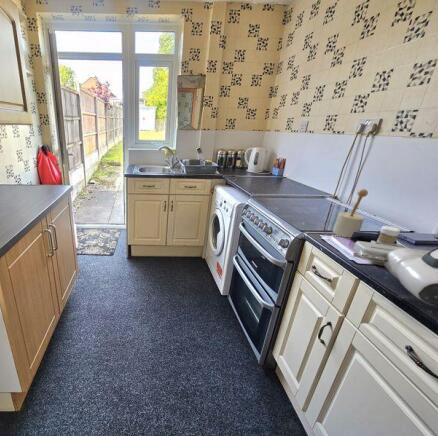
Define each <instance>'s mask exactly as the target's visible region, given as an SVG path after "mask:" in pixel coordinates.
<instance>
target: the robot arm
mask: <svg viewBox="0 0 438 436" xmlns="http://www.w3.org/2000/svg"><path fill="white" fill-rule="evenodd" d="M353 252H354V253H356V255H358V256H359V257H360V258H362V259H364V260H367V261H369V260H370V261H376V262H382V263H384V267H385V269H386V270H388V272H389V273H391V275H392V276H393V277H394V278H395V279H397V280H398V281H399V283H400V284H401V285H402V286H403V287H404V288H405V289H406V290H407V291H408V292H409V293H410V294H411V295H413V296H414V297H416V298H417V299H418V300H420V301H421V302H424V303H426V304H429V305H432V306H436V307H438V247H436V248H434V249H432V250H430V251H429V250H423V249H418V248H410V247H404V246H402V245H399V244H398V243H394V246H390V245H383V244H379V243H378V242H377V240H371V241H370V242H368V241H361V240H357V241H355V243H354V245H353ZM370 261H369V262H370Z"/></svg>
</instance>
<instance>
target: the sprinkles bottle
mask: <svg viewBox="0 0 438 436" xmlns="http://www.w3.org/2000/svg"><path fill="white" fill-rule="evenodd" d="M400 232H401V229H400V228H397V227H395V226H389V225H383V226H381V228H380V232H379V233H380V234H379V235H378V238H377V240H376V241H377V242H378V243H379V244H383V245H390V246H394V244H396V240H397V238H398V237H399V235H400ZM368 261H369V262H370V263H372V264H374V265H377V266H380V267H381V266H382V267H383V266H384V267H385V265H384V263H382V262H376V261H370V260H368Z"/></svg>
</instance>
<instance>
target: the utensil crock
mask: <svg viewBox="0 0 438 436" xmlns="http://www.w3.org/2000/svg"><path fill="white" fill-rule="evenodd" d="M368 191H369V190H367V189H365V188H361V189H359V190H357V196H358V197H357V199H356V201H355V204H354V205H353V208H352V210H351V212H349V211H347V212H346V211H339V212H338V214H337V216H336V219H335V223H334V226H333V230H332V233H333V234H334V235H335V236H337V237H338V236H339V237H341V236H342V237H341V238H345V237H348V238H347V239H351V238H350V237H351V236H352V234H353V233H354V232H359V233H360V232H361V229H362V226H363V224H364V221H365V217H364V216H362V215H360V214H357V213H356V211H357V209H358V207H359V205H360V203H361V201H362V200H363V198H365V197H367V196H368V195H369V192H368Z"/></svg>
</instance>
